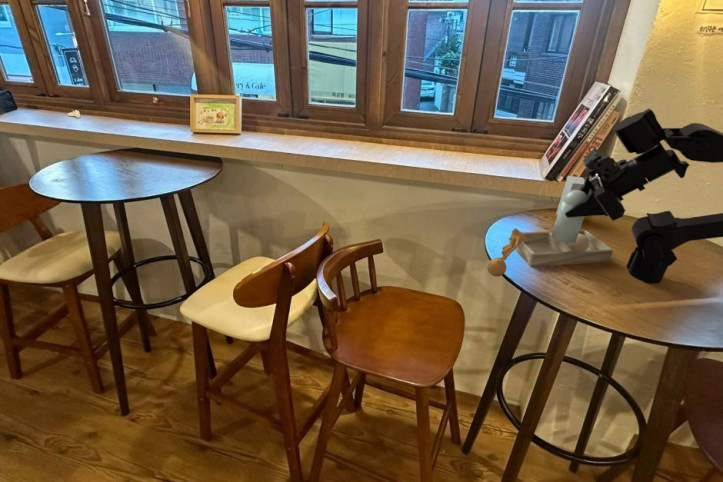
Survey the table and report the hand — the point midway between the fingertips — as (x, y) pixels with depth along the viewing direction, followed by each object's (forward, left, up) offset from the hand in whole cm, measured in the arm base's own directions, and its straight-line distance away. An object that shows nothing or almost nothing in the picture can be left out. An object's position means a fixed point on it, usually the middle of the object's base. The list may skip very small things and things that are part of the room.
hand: (565, 210), depth 90 cm
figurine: (-6, +15, -13) cm, 21 cm away
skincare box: (+19, -17, -13) cm, 28 cm away
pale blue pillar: (-1, -1, -7) cm, 7 cm away
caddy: (+1, -3, -13) cm, 13 cm away
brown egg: (+1, -7, -12) cm, 14 cm away
